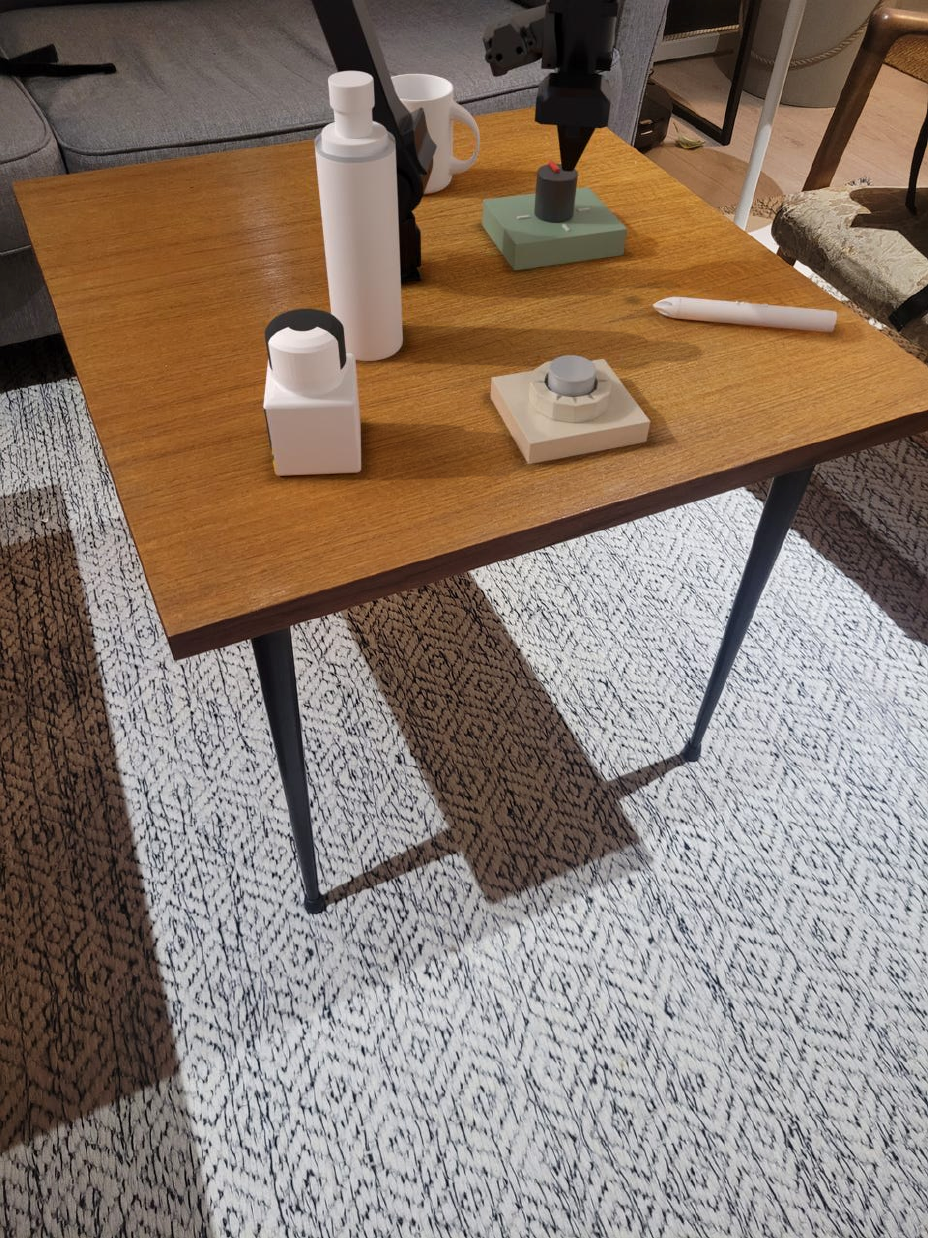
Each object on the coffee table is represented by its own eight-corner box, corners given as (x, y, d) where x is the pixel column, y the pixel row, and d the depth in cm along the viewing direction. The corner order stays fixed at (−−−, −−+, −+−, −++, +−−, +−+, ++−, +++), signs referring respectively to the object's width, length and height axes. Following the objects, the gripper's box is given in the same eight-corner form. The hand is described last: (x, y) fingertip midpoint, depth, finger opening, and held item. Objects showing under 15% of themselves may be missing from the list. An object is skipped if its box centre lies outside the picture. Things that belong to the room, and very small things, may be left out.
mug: (469, 203, 110) (472, 107, 102) (374, 191, 112) (369, 95, 104) (485, 174, 116) (489, 80, 108) (394, 162, 117) (391, 69, 109)
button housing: (528, 464, 78) (531, 425, 75) (490, 397, 84) (492, 359, 81) (646, 441, 80) (654, 403, 77) (600, 378, 86) (606, 340, 83)
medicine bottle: (279, 425, 81) (258, 299, 72) (360, 422, 81) (350, 296, 72) (275, 477, 76) (252, 349, 67) (361, 474, 76) (350, 346, 67)
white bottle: (407, 358, 88) (397, 68, 69) (337, 364, 87) (308, 72, 68) (397, 321, 92) (386, 39, 73) (331, 327, 91) (302, 42, 73)
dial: (579, 219, 101) (584, 175, 98) (542, 224, 100) (545, 179, 97) (564, 202, 104) (569, 158, 100) (528, 206, 103) (531, 162, 99)
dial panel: (513, 270, 100) (515, 242, 97) (481, 225, 106) (482, 197, 104) (623, 255, 102) (627, 227, 100) (585, 211, 109) (588, 184, 107)
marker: (650, 319, 93) (654, 298, 92) (650, 309, 95) (654, 288, 93) (831, 336, 92) (839, 315, 90) (828, 325, 93) (836, 304, 91)
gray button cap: (557, 402, 78) (559, 384, 76) (540, 376, 80) (542, 358, 79) (601, 394, 78) (603, 376, 77) (583, 368, 81) (585, 351, 80)
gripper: (502, -56, 84) (495, 126, 95) (478, 5, 71) (473, 206, 83) (625, -49, 83) (602, 134, 94) (622, 14, 70) (596, 215, 82)
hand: (567, 169), depth 89 cm, fingers closed
